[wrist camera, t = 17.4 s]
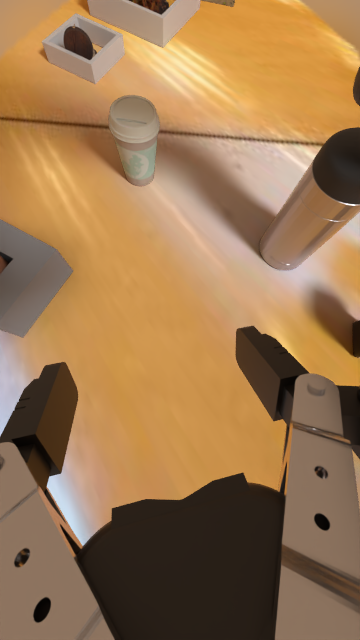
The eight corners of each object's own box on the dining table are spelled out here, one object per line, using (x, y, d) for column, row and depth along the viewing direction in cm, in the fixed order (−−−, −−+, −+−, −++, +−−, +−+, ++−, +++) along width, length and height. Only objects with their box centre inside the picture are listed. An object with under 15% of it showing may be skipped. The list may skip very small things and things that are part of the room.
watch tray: (80, 34, 60) (75, 13, 57) (124, 54, 59) (122, 34, 56) (48, 62, 57) (41, 41, 53) (95, 84, 56) (91, 64, 52)
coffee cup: (110, 176, 49) (94, 111, 37) (138, 152, 51) (130, 84, 40) (142, 199, 48) (135, 139, 36) (168, 174, 50) (170, 111, 39)
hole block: (8, 236, 44) (-20, 208, 37) (73, 270, 43) (56, 249, 36) (-47, 298, 40) (-89, 280, 33) (22, 337, 39) (-7, 327, 32)
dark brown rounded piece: (98, 51, 59) (89, 6, 52) (97, 72, 57) (88, 28, 50) (65, 49, 58) (51, 3, 51) (62, 71, 56) (48, 26, 49)
